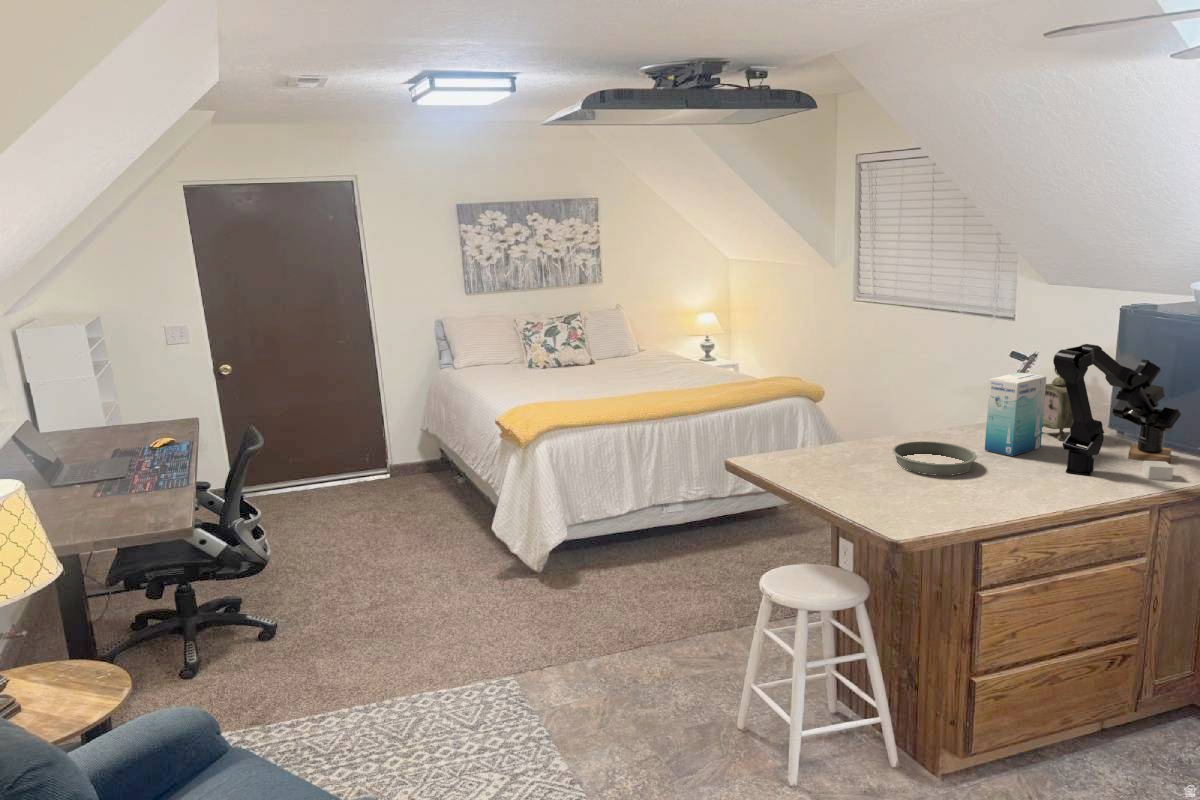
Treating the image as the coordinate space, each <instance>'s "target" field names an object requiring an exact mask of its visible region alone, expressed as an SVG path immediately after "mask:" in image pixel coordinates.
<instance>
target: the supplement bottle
mask: <svg viewBox="0 0 1200 800" xmlns="http://www.w3.org/2000/svg"><path fill="white" fill-rule="evenodd" d="M1156 419H1157V417H1154V416H1148V418H1147V419H1144V420H1142V422H1141V424H1140V426H1139V431H1138V440H1137V445H1138V446H1137V448H1138V450H1139V451H1142V452H1145V453H1161V452H1162V450H1163V448H1164V442H1165V434H1166V431H1164V430H1163V429H1161V428H1160V427H1158V426H1159V425H1157V423H1156Z"/></svg>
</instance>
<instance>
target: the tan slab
mask: <svg viewBox="0 0 1200 800" xmlns="http://www.w3.org/2000/svg"><path fill="white" fill-rule="evenodd" d="M1137 446H1138V444H1134V443H1131V444H1130V447H1129V450H1128V457H1127V459H1129V460H1136V461H1142V460H1144V461H1163V462H1167V463H1168V464H1170V462H1171V456H1172V455H1171V454H1172V448H1169V447H1168V448H1166V447H1163V450H1162V452H1161V453H1145V452H1142V451H1139V450H1138V448H1137ZM1170 465H1171V464H1170Z"/></svg>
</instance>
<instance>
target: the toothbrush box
mask: <svg viewBox="0 0 1200 800" xmlns="http://www.w3.org/2000/svg"><path fill="white" fill-rule="evenodd" d="M1046 384H1047V376H1044V375H1039V374H1033V373H1025V372H1014V373H1011V374H1005V375H1000V376H998V377H992V378H989V383H988V385H989V386H988V388H989V389H988V396H987V397H988V399H987V412H986V413H987V414H986V423H985V424H986V427H985V440H984V451H987V452H992V453H997V454H1002V455H1007V456H1011V457H1013V456H1018V455H1019V454H1024V453H1027V452H1030V451H1034V450H1037V449H1040V448H1041V447H1042V436H1043V435H1042V433H1043V428H1042V425H1043V412H1044V400H1045V388H1046Z"/></svg>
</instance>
